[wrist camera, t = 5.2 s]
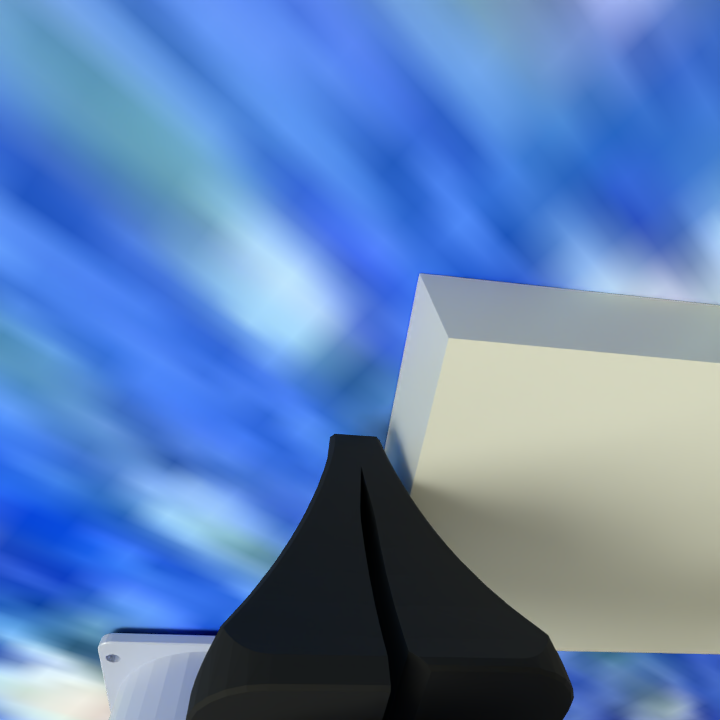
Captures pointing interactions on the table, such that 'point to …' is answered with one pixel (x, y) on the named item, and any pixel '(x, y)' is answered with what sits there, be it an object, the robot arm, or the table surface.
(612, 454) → the cream rectangular block
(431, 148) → the table surface
